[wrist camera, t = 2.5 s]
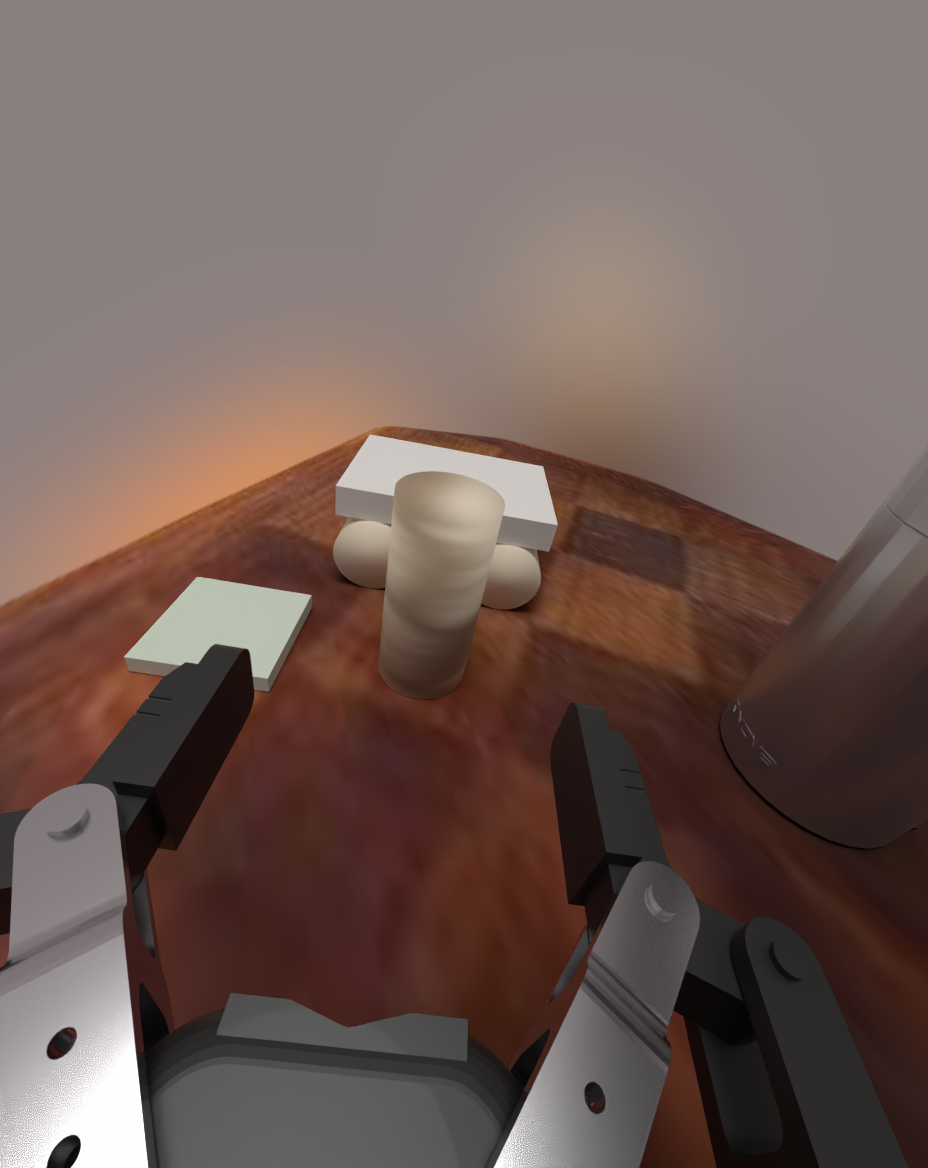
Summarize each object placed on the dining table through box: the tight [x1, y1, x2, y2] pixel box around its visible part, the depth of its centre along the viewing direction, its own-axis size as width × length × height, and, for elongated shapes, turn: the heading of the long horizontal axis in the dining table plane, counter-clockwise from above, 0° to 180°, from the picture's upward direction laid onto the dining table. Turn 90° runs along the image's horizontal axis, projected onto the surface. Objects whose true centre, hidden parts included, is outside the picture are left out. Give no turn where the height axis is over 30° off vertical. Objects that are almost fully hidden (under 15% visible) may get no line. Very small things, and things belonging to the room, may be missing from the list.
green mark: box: [124, 577, 312, 692], centre depth 26 cm, size 7×7×1 cm
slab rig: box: [333, 435, 558, 609], centre depth 35 cm, size 14×11×7 cm
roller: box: [378, 471, 505, 699], centre depth 24 cm, size 5×5×11 cm
